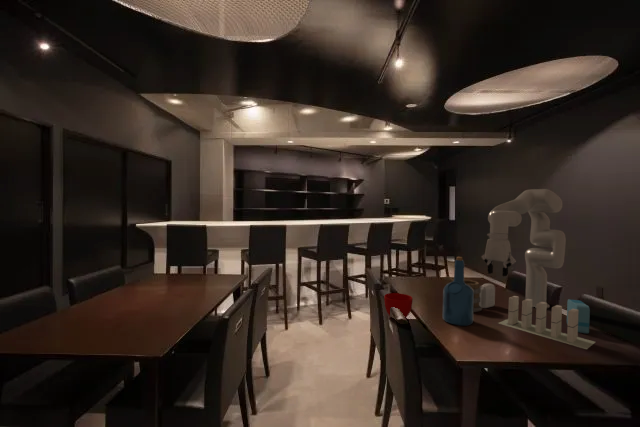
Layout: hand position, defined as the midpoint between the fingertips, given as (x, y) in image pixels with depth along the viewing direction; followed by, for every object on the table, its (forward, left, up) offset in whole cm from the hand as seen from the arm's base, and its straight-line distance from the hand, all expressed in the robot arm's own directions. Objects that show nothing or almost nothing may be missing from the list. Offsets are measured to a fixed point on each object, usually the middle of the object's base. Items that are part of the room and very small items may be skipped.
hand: (497, 274), depth 151 cm
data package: (-18, +27, -22) cm, 39 cm away
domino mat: (0, +20, -22) cm, 29 cm away
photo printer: (-17, -12, -22) cm, 30 cm away
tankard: (-5, -20, -22) cm, 30 cm away
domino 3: (0, +19, -21) cm, 28 cm away
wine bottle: (+19, -8, -22) cm, 30 cm away
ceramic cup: (+37, -28, -22) cm, 52 cm away
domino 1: (0, +8, -21) cm, 22 cm away
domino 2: (0, +13, -21) cm, 25 cm away
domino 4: (0, +24, -21) cm, 32 cm away
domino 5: (0, +30, -21) cm, 36 cm away
